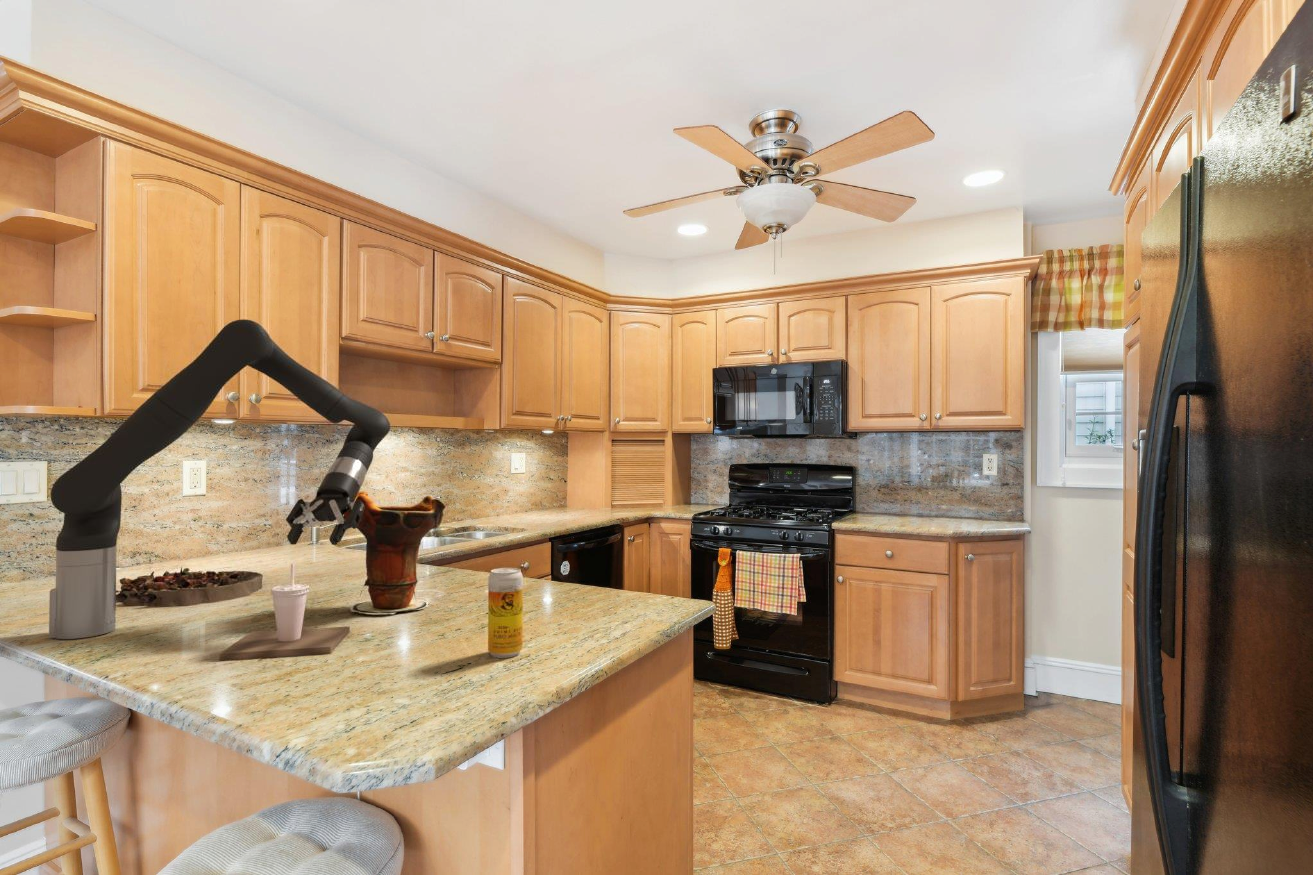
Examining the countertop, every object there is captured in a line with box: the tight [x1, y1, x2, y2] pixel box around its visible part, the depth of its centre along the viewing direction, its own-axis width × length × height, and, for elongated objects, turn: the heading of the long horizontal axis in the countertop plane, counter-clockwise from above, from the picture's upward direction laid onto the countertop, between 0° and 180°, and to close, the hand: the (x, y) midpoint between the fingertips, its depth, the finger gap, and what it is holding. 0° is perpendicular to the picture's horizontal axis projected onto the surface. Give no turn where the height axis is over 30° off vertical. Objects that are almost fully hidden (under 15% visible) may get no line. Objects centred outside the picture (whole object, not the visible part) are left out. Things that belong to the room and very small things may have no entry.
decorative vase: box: [343, 490, 446, 615], centre depth 153 cm, size 20×22×27 cm
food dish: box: [116, 566, 264, 608], centre depth 169 cm, size 35×33×8 cm
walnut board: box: [218, 626, 351, 661], centre depth 123 cm, size 18×14×1 cm
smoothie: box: [270, 563, 310, 641], centre depth 123 cm, size 6×6×14 cm
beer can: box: [487, 567, 524, 659], centre depth 118 cm, size 6×6×15 cm
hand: (312, 542), depth 130 cm, fingers open, 8 cm apart
